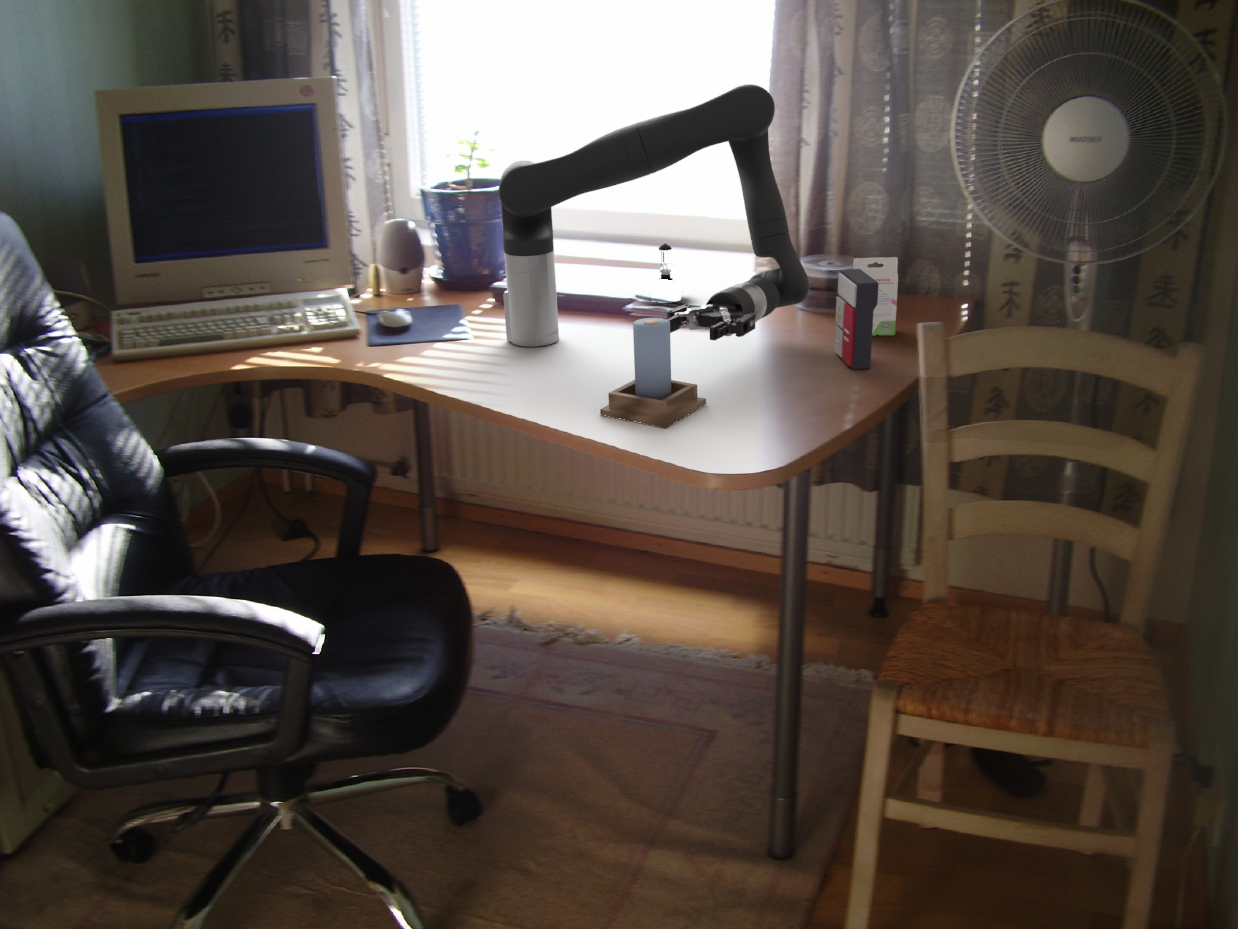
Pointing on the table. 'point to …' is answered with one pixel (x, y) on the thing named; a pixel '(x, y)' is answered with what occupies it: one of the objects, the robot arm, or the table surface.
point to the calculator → (855, 317)
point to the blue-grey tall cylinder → (652, 358)
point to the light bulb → (665, 272)
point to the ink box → (882, 292)
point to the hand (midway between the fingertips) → (688, 330)
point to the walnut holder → (653, 404)
